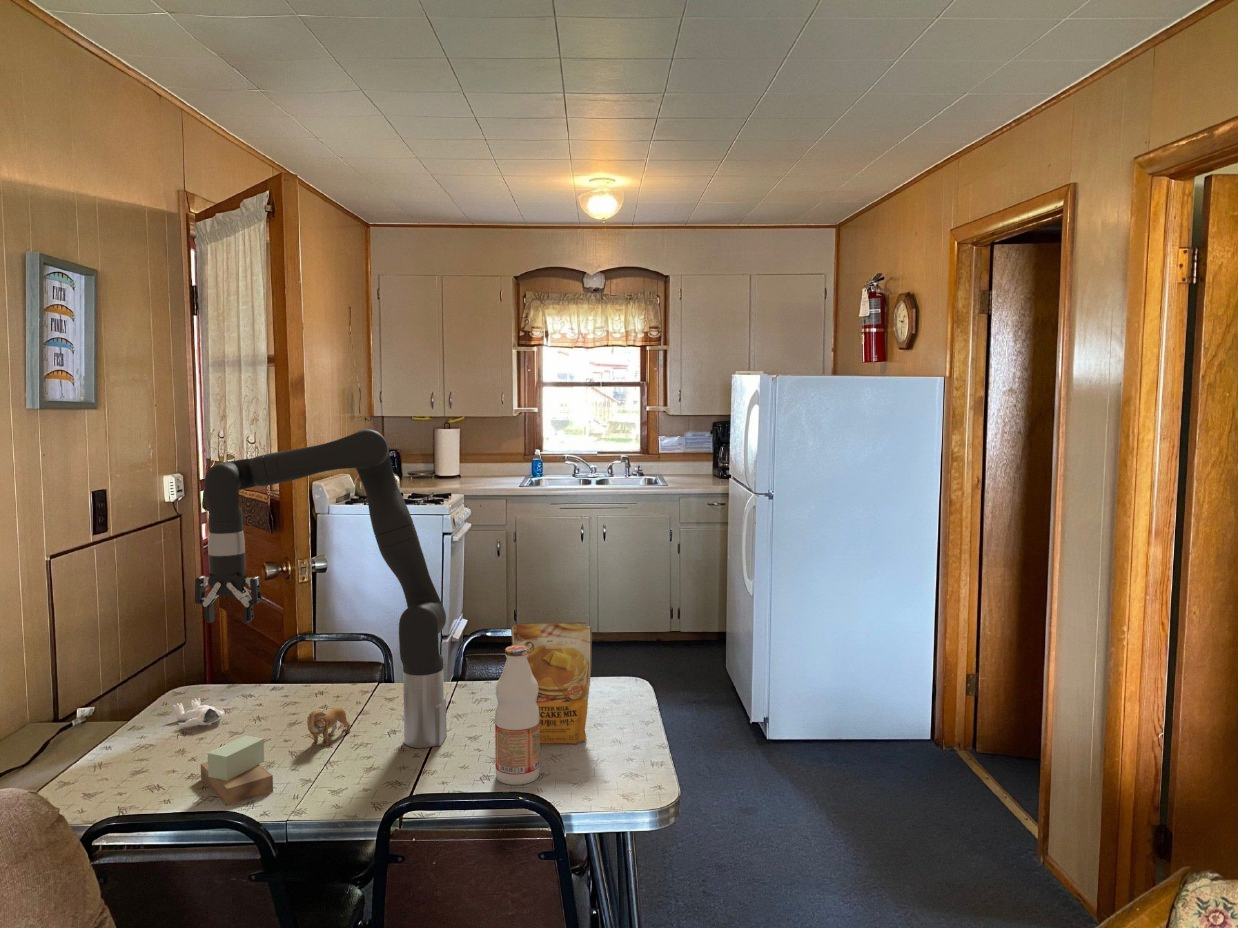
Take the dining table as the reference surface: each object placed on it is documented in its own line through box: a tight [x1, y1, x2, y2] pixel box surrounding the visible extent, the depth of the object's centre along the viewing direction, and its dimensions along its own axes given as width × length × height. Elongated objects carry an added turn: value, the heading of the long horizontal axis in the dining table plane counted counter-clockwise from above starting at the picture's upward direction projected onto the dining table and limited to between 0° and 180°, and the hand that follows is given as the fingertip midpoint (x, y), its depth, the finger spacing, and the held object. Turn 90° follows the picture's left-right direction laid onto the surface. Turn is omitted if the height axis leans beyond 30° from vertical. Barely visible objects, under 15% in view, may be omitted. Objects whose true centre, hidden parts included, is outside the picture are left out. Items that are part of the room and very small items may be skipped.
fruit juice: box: [494, 645, 541, 786], centre depth 184 cm, size 9×9×28 cm
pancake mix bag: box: [510, 621, 593, 746], centre depth 203 cm, size 7×19×28 cm, turn 91°
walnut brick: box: [200, 761, 274, 807], centre depth 180 cm, size 9×16×4 cm, turn 43°
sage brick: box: [207, 734, 265, 781], centre depth 180 cm, size 5×10×5 cm, turn 158°
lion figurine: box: [306, 707, 351, 747], centre depth 204 cm, size 15×5×9 cm, turn 168°
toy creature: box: [172, 697, 225, 731], centre depth 215 cm, size 12×6×12 cm
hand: (229, 622), depth 195 cm, fingers open, 8 cm apart
